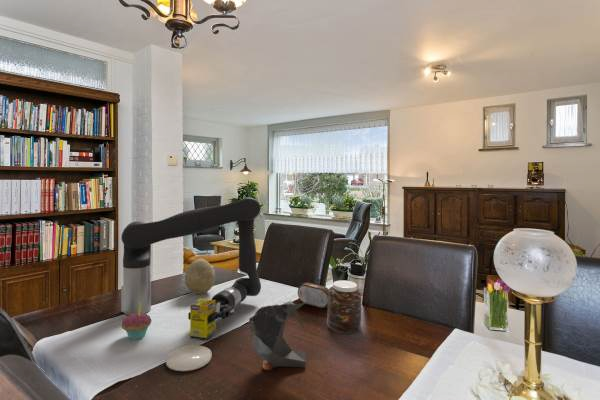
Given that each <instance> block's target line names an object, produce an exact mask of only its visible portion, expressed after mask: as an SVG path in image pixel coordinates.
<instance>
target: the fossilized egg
mask: <svg viewBox="0 0 600 400" xmlns="http://www.w3.org/2000/svg"><path fill="white" fill-rule="evenodd" d="M215 281H216V273H215V270H214V268H213V265H212V264H211V263H210V262H208V260H206V259H204V258H198V259H195V260H194V261H192V262H191V263H190V264H189V265H188V267H187V269H186V270H185V273H184V284H185V286H186V288H187V289H188V290H189V292H191V293H193V294H196V295H203V294H205V293H208V291H210V290H211V289H212V288H213V286H214V284H215Z"/></svg>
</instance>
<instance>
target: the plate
mask: <svg viewBox="0 0 600 400" xmlns="http://www.w3.org/2000/svg"><path fill="white" fill-rule="evenodd" d="M212 354H213V353H212V351H211V349H210V348H208V347H206V346H203V345H196V344H195V345H194V344H193V345H186V346H182V347H178V348H176V349H174V350H172V351H171V352H169V353H168V354H167V356H166V358H165V364H166V366H167V368H169V369H170V370H173V371H176V372H177V371H178V372H189V371H194V370H198V369H200V368H202V367H205V366H206V365H208V364H209V362H210V361H211V360H212V356H213V355H212Z"/></svg>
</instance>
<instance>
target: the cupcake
mask: <svg viewBox="0 0 600 400" xmlns="http://www.w3.org/2000/svg"><path fill="white" fill-rule="evenodd" d="M141 307H142V300H141V302H140V304H139V313H135V314H131V315H127V316H126V317H124V318H123V320H122V322H121V323H120V327H121V329H123V330H124V331H126V334H127V336H128V339H130V340H135V341H136V340H140V339H142V338H144V337H146V335H147V331H148V329H149V327H150V325H151V324H152V319H151V316H150V315H148V314H147V313H141Z"/></svg>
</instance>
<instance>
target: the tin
mask: <svg viewBox="0 0 600 400" xmlns="http://www.w3.org/2000/svg"><path fill="white" fill-rule="evenodd" d="M328 291H329V288H328V287H326V286H324V285H319V284H315V283H312V282H304V283H302V284H301V285H300V286H299V287H298V288H297V297H298V300H300V302H302V303H305V304H304V305H308V306H312V307H315V308H319V309H325V308H327V307H328ZM306 302H307V303H306Z"/></svg>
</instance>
